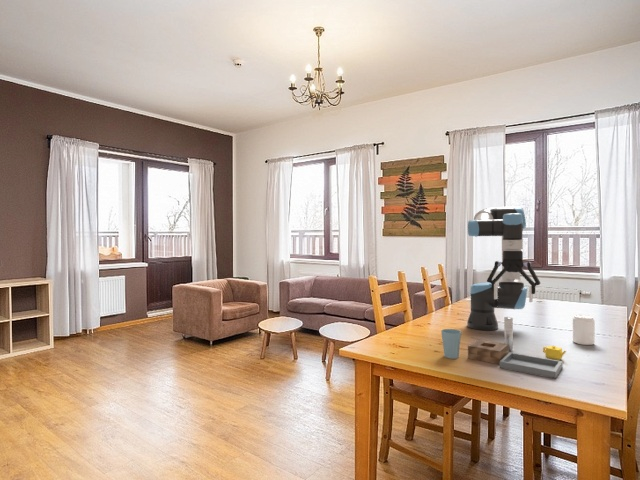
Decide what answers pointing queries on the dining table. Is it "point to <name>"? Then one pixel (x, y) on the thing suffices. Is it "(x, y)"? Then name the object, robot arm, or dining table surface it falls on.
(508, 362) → the tray
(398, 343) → the dining table surface
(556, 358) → the teapot
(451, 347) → the cup
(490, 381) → the dining table surface
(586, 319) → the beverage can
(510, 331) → the pin
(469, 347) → the wooden square hole block
